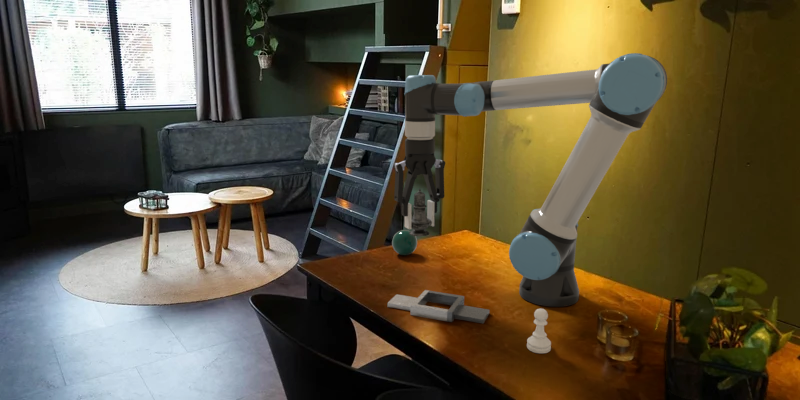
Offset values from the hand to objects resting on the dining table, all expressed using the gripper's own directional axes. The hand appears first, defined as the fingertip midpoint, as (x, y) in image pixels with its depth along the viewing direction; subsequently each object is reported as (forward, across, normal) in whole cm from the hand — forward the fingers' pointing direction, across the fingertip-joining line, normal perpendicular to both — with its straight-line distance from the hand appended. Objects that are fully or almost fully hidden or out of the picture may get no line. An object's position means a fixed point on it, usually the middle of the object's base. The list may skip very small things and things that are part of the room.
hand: (419, 226), depth 148 cm
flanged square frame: (+18, +1, +13) cm, 22 cm away
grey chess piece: (+2, 0, 0) cm, 2 cm away
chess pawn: (+18, -10, +38) cm, 44 cm away
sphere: (+18, -8, -29) cm, 35 cm away
